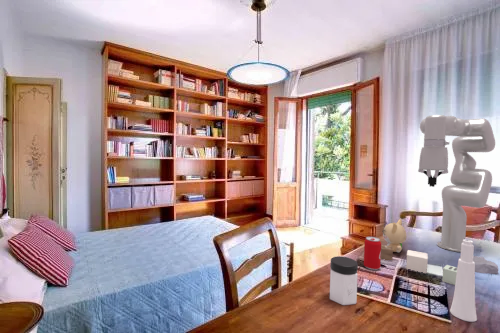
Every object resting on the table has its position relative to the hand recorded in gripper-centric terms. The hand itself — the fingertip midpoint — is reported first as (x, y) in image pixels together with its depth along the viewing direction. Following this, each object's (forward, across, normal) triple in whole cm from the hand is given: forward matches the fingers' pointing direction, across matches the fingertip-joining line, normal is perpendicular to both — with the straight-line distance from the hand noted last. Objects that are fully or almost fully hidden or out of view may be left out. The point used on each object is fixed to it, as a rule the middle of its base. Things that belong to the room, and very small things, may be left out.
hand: (432, 186), depth 115 cm
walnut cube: (+33, +15, +10) cm, 38 cm away
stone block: (+34, -16, -5) cm, 38 cm away
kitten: (+33, +14, -3) cm, 36 cm away
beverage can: (+33, +17, +25) cm, 45 cm away
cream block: (+33, +3, +13) cm, 36 cm away
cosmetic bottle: (+33, -12, +42) cm, 55 cm away
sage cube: (+33, -9, +18) cm, 39 cm away
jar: (+33, +18, +56) cm, 68 cm away
